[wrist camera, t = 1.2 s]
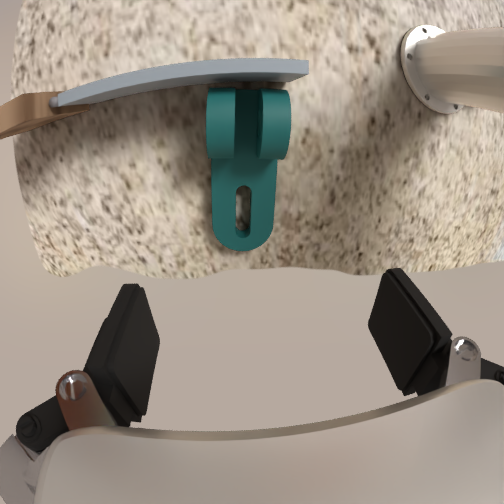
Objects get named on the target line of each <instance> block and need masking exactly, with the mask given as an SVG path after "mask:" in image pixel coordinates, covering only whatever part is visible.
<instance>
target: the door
mask: <svg viewBox="0 0 504 504" xmlns="http://www.w3.org/2000/svg"><path fill="white" fill-rule="evenodd" d="M308 74H309V64H308V60H296V59H276V58H237V59H217V60H204V61H194V62H186V63H178V64H171V65H165V66H159V67H153V68H148V69H143V70H138V71H133V72H129V73H124V74H120V75H116V76H113V77H109V78H105V79H102V80H98V81H95V82H91V83H88V84H85V85H82V86H79V87H76V88H73V89H70V90H67V91H65V92H62V93H59V94H58V97H52V98H50V100H49V106H50V107H51V108H52V107H60V106H69V105H80V104H92V103H98V102H102V101H106V100H110V99H114V98H118V97H123V96H127V95H132V94H137V93H142V92H147V91H153V90H159V89H166V88H173V87H180V86H189V85H198V84H209V83H224V82H254V81H267V82H291V81H293V80H296V79H298V78H300V77H303V76H305V75H308Z"/></svg>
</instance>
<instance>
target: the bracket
mask: <svg viewBox="0 0 504 504" xmlns="http://www.w3.org/2000/svg"><path fill="white" fill-rule="evenodd" d="M290 131H291V104H290V97H289V94H288V91H287V90H281V89H265V88H260V89H259V90H246V89H235V88H209V91H208V97H207V109H206V144H207V154H208V158H209V159H211V184H212V225H213V231H214V234H215V236H216V238H217V239H218V240H219V242H220V243H222V244H223V245H224V246H226V247H227V248H229V249H232V250H236V251H249V250H253V249H255V248H257V247H259V246H261V245H262V244H263V243H265V242H266V240H267V239H268V238H269V236H270V234H271V232H272V229H273V221H274V207H275V192H276V176H277V160H278V159H281V160H283V159H284V158H285V156H286V154H287V150H288V146H289V140H290ZM243 185H245V186H248V187H249V188H250V189H251V192H250V223H249V227H248V228H247V229H246V230H239V229H237V228H236V190H237V189H238V187H240V186H243Z"/></svg>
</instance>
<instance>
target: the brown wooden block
mask: <svg viewBox="0 0 504 504" xmlns="http://www.w3.org/2000/svg"><path fill="white" fill-rule="evenodd" d="M62 92H65V91H59V92H40V93H27V94H22V95H20V96H18V97H16V98H14V99H13V100H11V101H9V102H7V103H5V104H4V105H2V106H0V139H3V138H6V137H9V136H13V135H16V134H19V133H23V132H26V131H30V130H32V129H35V128H37V127H40V126H43V125H45V124H48V123H51V122H54V121H57V120H59V119H62V118H65V117H69V116H72V115H75V114H78V113H82V112H85V111H88V110H90V109H89V104H80V105H69V106H60V107H52V108H51V107H50V106H49V100H50V98H52V97H58V94H59V93H62Z"/></svg>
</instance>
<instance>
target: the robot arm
mask: <svg viewBox="0 0 504 504" xmlns="http://www.w3.org/2000/svg"><path fill="white" fill-rule="evenodd" d="M401 63H402V68H403V71H404V75H405V77H406V80H407V82H408V84H409V86H410V88H411V89H412V91H413V93H414V94H415V95H416V96H417V98H418V99H419V100H420V101H421V102H422V103H423V104H424V105H425V106H427V107H428V108H430V109H431V110H434V111H436V112H440V113H444V114H451V113H455V112H457V111H459V110H461V109H462V108H463V107H464V106H465V105H466V106H471V107H476V108H481V109H486V110H491V111H495V112H499V113H503V114H504V27H493V28H478V29H467V30H459V31H451V32H445V31H443V30H441V29H440V28H438V27H435V26H432V25H420V26H417V27H414V28H412V29H411V30H409V31H408V32H407V34H406V35H405V36H404V39H403V41H402V45H401ZM368 327H369V330H370V332H371V334H372V336H373V338H374V340H375V342H376V344H377V346H378V348H379V350H380V352H381V354H382V356H383V358H384V360H385V362H386V364H387V367H388V369H389V371H390V373H391V375H392V377H393V379H394V382H395V384H396V386H397V388H398V389H399V390H402V393H403V395H404V396H406V395H410V394H413V393H415V392H416V393H417V395H418V396H417V397H415V398H412V399H409V400H406V401H403V402H400V403H396V404H393V405H390V406H386V407H383V408H379V409H376V410H372V411H368V412H364V413H360V414H356V415H351V416H347V417H343V418H337V419H333V420H328V421H322V422H316V423H310V424H303V425H296V426H289V427H281V428H271V429H260V430H246V431H245V430H244V431H217V432H216V431H215V432H214V431H213V432H210V431H209V432H208V431H207V432H205V431H172V430H155V429H144V428H131V427H129V426H130V423H131V421H133V422H141V418H142V415H146V411H147V406H148V401H149V395H150V390H151V384H152V379H153V374H154V369H155V364H156V359H157V354H158V350H159V344H160V339H159V335H158V332H157V329H156V326H155V323H154V320H153V317H152V314H151V310H150V307H149V304H148V300H147V297H146V294H145V291H144V288H143V287H140V286H139V285H138V284H124V285H123V286H122V287H121V290H120V291H119V294H118V296H117V298H116V300H115V302H114V304H113V306H112V308H111V311H110V313H109V315H108V317H107V318H106V319H105V320H104V322H103V324H102V326H101V328H100V331H99V333H98V335H97V337H96V340H95V342H94V345H93V347H92V349H91V352H90V354H89V357H88V359H87V362H86V364H85V367H84V369H83V371H80V370H72V371H69V372H67V373H66V374H64V375H63V376H62V377H61V378H60V379H59V380H58V382H57V385H56V389H55V391H56V396H54V397H52V398H51V399H49V400H47V401H46V402H44V403H42V404H40V405H39V406H37V407H35V408H34V409H32V410H30V411H28V412H27V413H25V414H24V415H22V416H21V417H20V419H19V420H18V422H17V425H16V436H14V435H13V434H12V435H11V436H10V437H9V438H8V439H7V440H6V441H5V443H4V444H3V445H2V446H1V447H0V495H1V497H2V498H3V500H4V501H5V503H6V504H504V367H502V366H500V365H497V364H495V363H492V362H490V361H487V360H485V359H483V358H481V352H480V349H479V347H478V346H477V344H476V343H475V342H474V341H473V340H471V339H469V338H467V337H457V338H455V339H454V340H453V341H452V340H451V339H450V338H451V336H452V333H451V331H450V330H449V328H448V327H447V326H446V324H445V323H444V322H443V320H442V319H441V317H440V316H439V315H438V313H437V312H436V311H435V310H434V308H433V307H432V306H431V304H430V303H429V302H428V300H427V299H426V298H425V297H424V295H423V294H422V293H421V292H420V290H419V289H418V288H417V287H416V286H415V284H414V283H413V282H412V281H411V279H410V278H409V277H408V276H407V275H406V273H405V272H404V271H403V270H402V269H401V268H394V269H388V270H387V271H386V272H385V273H384V274H383V275H382V278H381V282H380V286H379V289H378V292H377V296H376V299H375V302H374V306H373V309H372V312H371V315H370V319H369V321H368Z"/></svg>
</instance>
